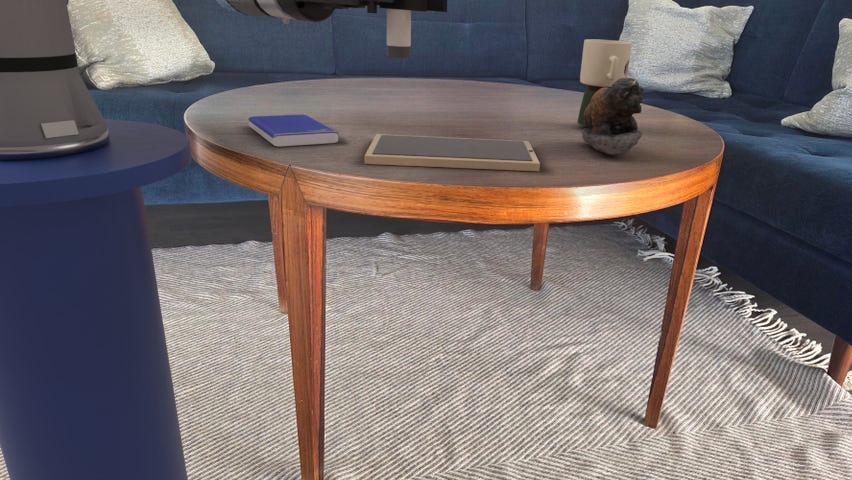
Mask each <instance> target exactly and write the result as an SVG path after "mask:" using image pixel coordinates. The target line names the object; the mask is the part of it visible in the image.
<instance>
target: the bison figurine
mask: <svg viewBox="0 0 852 480" xmlns="http://www.w3.org/2000/svg"><path fill="white" fill-rule="evenodd" d="M643 92H644V87H642V86H640V83H639V81H638V80H637V79H635V78H632V77H627V78H620V79H618V80H617V81H616V82H614V83H613V84H612V86H611V88H607V87H604V88H601V89H600V90H598V91H597V92H596V93H595V94H594V95H593V96H592V99H591V101H590V103H589V105H588V107H587V108H586V109H585V112H584V124H585V125H584V126H585V127H584V128H583V129H581V136H582V137H581V138H582V139H583V141H584V143H586V144H587V145H589V146H590V147H592V148H593V149H594V150H595V151H597V152H600V153H603V154H606V155H609V156H619V155H623V154H625V153H627V152H628V151H630V150H631V149H632V148H633V147H634V146H636V145H638V143H639V141H640V139H641V138H642V136H643V132H642V131H641V130H638V127H639V125H638V122H637V120H636V118H635V117H634V116H633V115H635V114H641V113H642V105H641V103H642V102H643V101H644V97H643Z"/></svg>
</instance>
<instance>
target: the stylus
mask: <svg viewBox="0 0 852 480" xmlns="http://www.w3.org/2000/svg"><path fill="white" fill-rule="evenodd" d="M411 35H412V11H411V10H399V9H386V57H389V58H397V59H399V58H402V59H403V58H404V59H406V58H407V59H408V58H411V56H412V55H411V52H412V51H411V50H412V49H411V48H412V47H411V46H412V45H411V44H412V36H411Z"/></svg>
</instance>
